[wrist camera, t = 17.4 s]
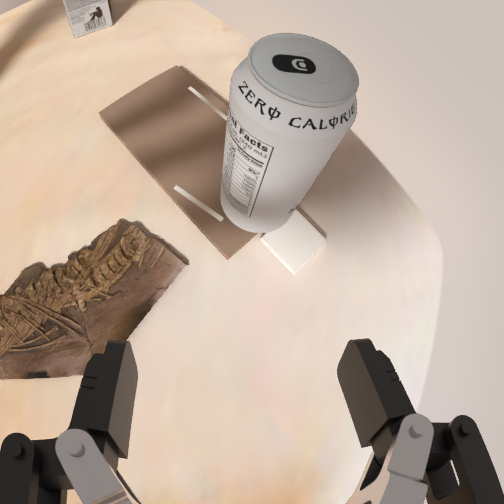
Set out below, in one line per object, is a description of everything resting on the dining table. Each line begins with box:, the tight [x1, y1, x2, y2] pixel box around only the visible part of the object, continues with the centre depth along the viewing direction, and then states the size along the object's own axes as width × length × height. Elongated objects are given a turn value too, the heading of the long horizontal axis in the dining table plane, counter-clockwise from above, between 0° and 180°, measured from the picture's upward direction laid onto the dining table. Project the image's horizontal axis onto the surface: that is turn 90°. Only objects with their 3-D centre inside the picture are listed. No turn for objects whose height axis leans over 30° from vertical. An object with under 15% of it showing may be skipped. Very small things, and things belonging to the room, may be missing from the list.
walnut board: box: [99, 65, 258, 260], centre depth 27 cm, size 20×10×1 cm, turn 43°
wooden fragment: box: [0, 221, 188, 379], centre depth 21 cm, size 26×11×1 cm, turn 117°
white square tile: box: [260, 210, 327, 274], centre depth 26 cm, size 4×4×1 cm
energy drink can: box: [220, 33, 359, 233], centre depth 18 cm, size 6×6×15 cm
